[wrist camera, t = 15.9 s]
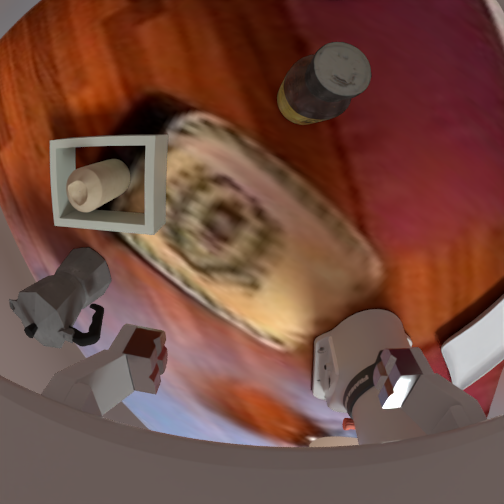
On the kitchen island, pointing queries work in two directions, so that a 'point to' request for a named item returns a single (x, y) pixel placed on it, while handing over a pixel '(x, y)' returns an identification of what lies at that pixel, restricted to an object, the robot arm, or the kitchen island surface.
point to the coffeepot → (65, 300)
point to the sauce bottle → (323, 83)
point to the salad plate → (476, 346)
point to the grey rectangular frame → (103, 219)
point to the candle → (97, 184)
